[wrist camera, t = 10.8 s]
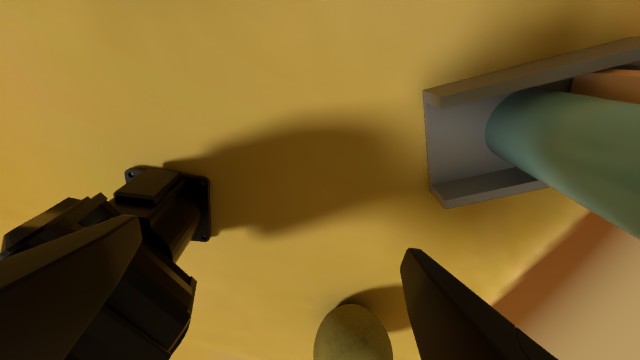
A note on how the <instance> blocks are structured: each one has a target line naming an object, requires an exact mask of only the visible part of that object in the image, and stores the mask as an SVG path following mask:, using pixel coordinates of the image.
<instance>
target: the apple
mask: <svg viewBox="0 0 640 360" xmlns="http://www.w3.org/2000/svg"><path fill="white" fill-rule="evenodd" d="M313 357H314V360H393V352H392V346H391V342H390V339H389V336H388V334H387V332H386V330H385V328H384V326H383V325H382V323H381V322H380V321H379V320H378V318H377V317H376V316H375V315H374V314H373V313H372V312H371V311H369V310H368V309H366V308H365V307H363V306H360V305H357V304H345V305H341V306H339V307H337V308H335V309H333V310H332V311H330V312H329V313H328V314H327V315H326V317H325V318H324V319H323V321H322V323H321V324H320V327H319V329H318V331H317V335H316V338H315V343H314V351H313Z"/></svg>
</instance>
